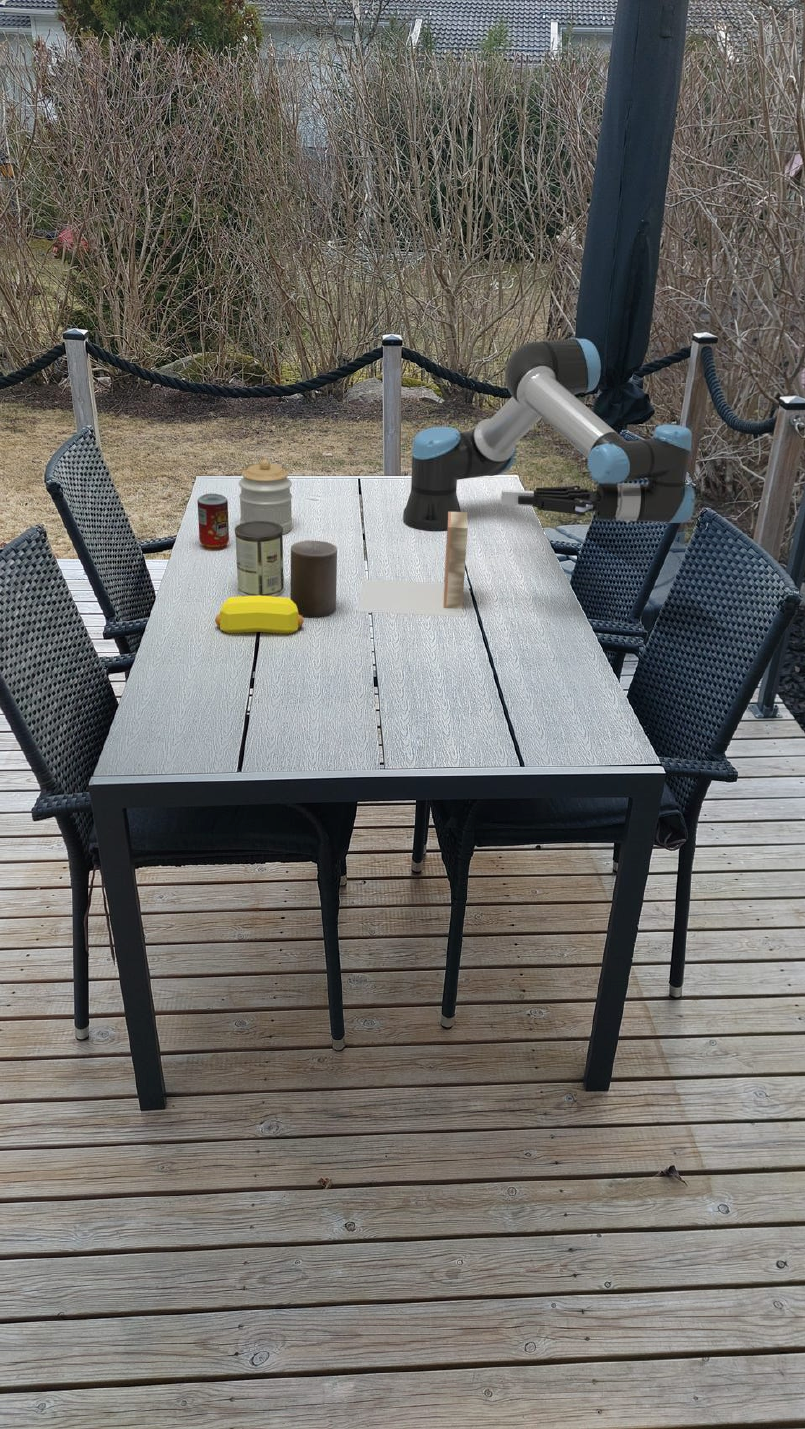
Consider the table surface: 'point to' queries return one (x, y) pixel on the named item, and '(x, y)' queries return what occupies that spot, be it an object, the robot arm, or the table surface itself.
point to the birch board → (455, 559)
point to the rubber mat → (404, 598)
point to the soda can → (213, 521)
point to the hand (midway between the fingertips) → (501, 497)
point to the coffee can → (259, 558)
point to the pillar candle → (314, 578)
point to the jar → (266, 495)
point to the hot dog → (259, 615)
